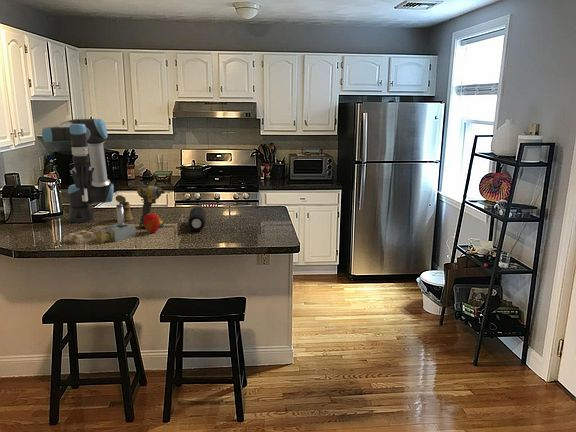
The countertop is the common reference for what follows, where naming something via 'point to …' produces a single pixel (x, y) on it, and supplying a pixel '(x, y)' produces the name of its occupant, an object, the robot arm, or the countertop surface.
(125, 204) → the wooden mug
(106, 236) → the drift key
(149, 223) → the apple
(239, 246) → the countertop surface
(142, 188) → the cordless drill
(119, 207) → the rod
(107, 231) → the socket block
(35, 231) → the countertop surface
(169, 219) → the countertop surface
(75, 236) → the wooden square frame
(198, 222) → the portable speaker
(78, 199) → the robot arm
